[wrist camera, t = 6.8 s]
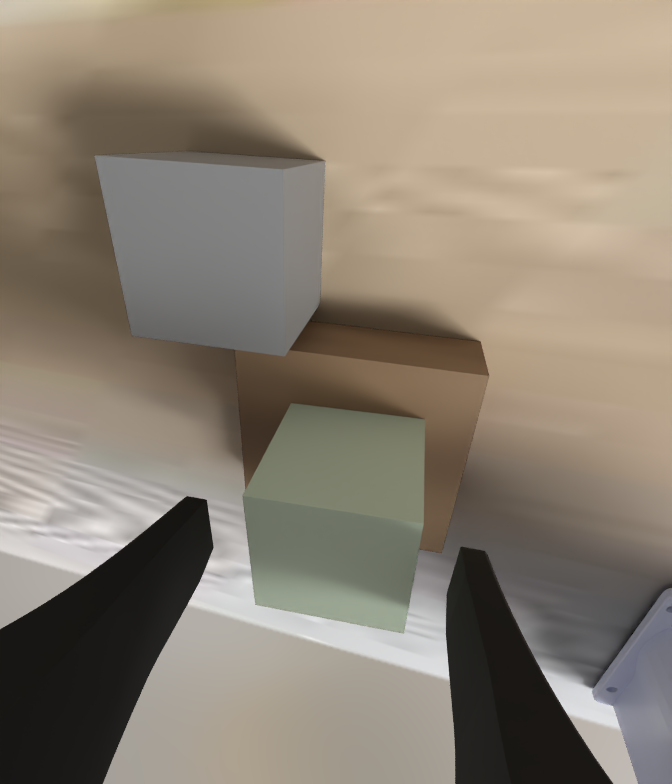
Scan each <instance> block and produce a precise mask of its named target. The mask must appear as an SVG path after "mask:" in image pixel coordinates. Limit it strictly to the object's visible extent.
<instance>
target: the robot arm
mask: <svg viewBox="0 0 672 784" xmlns="http://www.w3.org/2000/svg"><path fill="white" fill-rule="evenodd" d="M212 550H213V541H212V534H211V527H210V520H209V513H208V506H207V500H205V499H199V498H194V497H189V496H187V497H185V498H184V499H183V500H181V501H180V502H179V503H178V504H177V505H175V506H174V507H173V508H172V509H171V510H169V511H168V512H167V513H166V514H165V515H163V516H162V517H161V518H160V519H159V520H157V521H156V522H155V523H154V524H153V525H151V526H150V527H149V528H148V529H147V530H145V531H144V532H143V533H142V534H140V535H139V536H138V537H137V538H135V539H134V540H133V541H132V542H130V543H129V544H128V545H127V546H125V547H124V548H123V549H121V550H120V551H119V552H118V553H116V554H115V555H114V556H112V557H111V558H110V559H108V560H107V561H106V562H104V563H103V564H101V565H100V566H99V567H97V568H96V569H95V570H93V571H92V572H91V573H89V574H88V575H86V576H85V577H84V578H82V579H81V580H79V581H78V582H76V583H75V584H74V585H72V586H71V587H69V588H68V589H66V590H65V591H63V592H62V593H60V594H58V595H57V596H55V597H54V598H52V599H51V600H49V601H47V602H46V603H44V604H43V605H41V606H39V607H38V608H36V609H34V610H33V611H31V612H29V613H28V614H26V615H24V616H23V617H21V618H19V619H17V620H16V621H14V622H12V623H10V624H9V625H7V626H5V627H3V628H2V629H0V784H103V782H104V779H105V777H106V774H107V772H108V769H109V766H110V764H111V761H112V759H113V757H114V754H115V752H116V749H117V747H118V744H119V742H120V740H121V738H122V735H123V733H124V731H125V728H126V726H127V723H128V721H129V718H130V716H131V714H132V712H133V709H134V707H135V705H136V703H137V701H138V698H139V696H140V694H141V691H142V689H143V687H144V685H145V683H146V680H147V678H148V676H149V674H150V672H151V670H152V668H153V666H154V664H155V662H156V660H157V658H158V656H159V654H160V653H161V651H162V649H163V647H164V645H165V644H166V642H167V640H168V638H169V637H170V635H171V633H172V631H173V629H174V628H175V626H176V624H177V622H178V620H179V619H180V617H181V615H182V613H183V611H184V609H185V608H186V606H187V604H188V602H189V600H190V598H191V597H192V595H193V593H194V591H195V589H196V587H197V586H198V584H199V582H200V579H201V577H202V575H203V572H204V570H205V568H206V565H207V563H208V560H209V558H210V555H211V553H212ZM446 640H447V653H448V665H449V676H450V688H451V699H452V711H453V722H454V737H455V776H456V777H455V783H456V784H613V783H612V781H611V780H610V779H609V777H608V776H607V774H606V773H605V771H604V770H603V769H602V767H601V766H600V764H599V763H598V762H597V760H596V759H595V757H594V756H593V754H592V753H591V751H590V749H589V748H588V747H587V745H586V743H585V742H584V740H583V739H582V737H581V736H580V734H579V733H578V731H577V730H576V728H575V726H574V725H573V723H572V722H571V720H570V718H569V717H568V715H567V714H566V712H565V710H564V709H563V707H562V705H561V704H560V702H559V700H558V699H557V697H556V695H555V694H554V692H553V690H552V688H551V687H550V685H549V683H548V682H547V680H546V678H545V676H544V674H543V673H542V671H541V669H540V667H539V665H538V663H537V662H536V660H535V658H534V656H533V654H532V652H531V650H530V648H529V647H528V645H527V643H526V641H525V639H524V637H523V635H522V633H521V631H520V629H519V626H518V624H517V622H516V620H515V618H514V616H513V614H512V612H511V610H510V608H509V606H508V603H507V601H506V599H505V597H504V594H503V592H502V590H501V588H500V585H499V583H498V580H497V578H496V575H495V573H494V570H493V568H492V565H491V563H490V560H489V557H488V555H487V554H486V552H485V551H482V550H476V549H471V548H465V547H461V548H460V551H459V555H458V558H457V561H456V565H455V568H454V571H453V575H452V578H451V582H450V585H449V588H448V592H447V604H446ZM592 693H593V697H594V699H595V700H596V701H597V702H599V703H603V704H607V705H612V706H613V707H614V710H615V713H616V716H617V719H618V722H619V725H620V728H621V732H622V735H623V737H624V741H625V744H626V747H627V750H628V753H629V756H630V759H631V763H632V766H633V769H634V772H635V775H636V777H637V781H638V784H672V588H669V589H666V590H665V591H664V592H663V593H662V594H661V595H660V597H659V598H658V600H657V601H656V602H655V604H654V605H653V607H652V608H651V609H650V611H649V612H648V613H647V615H646V616H645V618H644V619H643V620H642V622H641V623H640V625H639V626H638V627H637V629H636V630H635V632H634V633H633V634H632V636H631V637H630V639H629V640H628V641H627V643H626V644H625V645H624V647H623V648H622V650H621V651H620V652H619V654H618V655H617V657H616V658H615V659H614V661H613V662H612V664H611V665H610V666H609V668H608V669H607V671H606V672H605V673H604V675H603V676H602V677H601V679H600V680H599V682H598V683H597V684H596V686H595V687H594V689H593V690H592Z"/></svg>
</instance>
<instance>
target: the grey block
mask: <svg viewBox="0 0 672 784" xmlns="http://www.w3.org/2000/svg"><path fill="white" fill-rule="evenodd" d="M94 156H95V160H96V165H97V170H98V175H99V180H100V185H101V189H102V194H103V199H104V204H105V209H106V214H107V218H108V223H109V228H110V233H111V238H112V243H113V247H114V252H115V257H116V262H117V267H118V272H119V277H120V281H121V286H122V291H123V296H124V301H125V306H126V310H127V315H128V320H129V325H130V330H131V335H132V336H136V337H144V338H151V339H159V340H166V341H174V342H181V343H188V344H196V345H203V346H211V347H218V348H226V349H233V350H241V351H248V352H256V353H263V354H270V355H278V356H285V355H286V354H287V352H288V351H289V349H290V348H291V346H292V345H293V343H294V342H295V340H296V339H297V337H298V336H299V334H300V333H301V331H302V330H303V328H304V327H305V325H306V324H307V322H308V321H309V319H310V318H311V316H312V315H313V313H314V312H315V310H316V309H317V307H318V306H319V304H320V294H321V266H322V238H323V210H324V182H325V161H320V160H306V159H292V158H278V157H264V156H250V155H236V154H222V153H208V152H194V151H175V152H154V153H133V154H112V155H94Z"/></svg>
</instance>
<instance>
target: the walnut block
mask: <svg viewBox="0 0 672 784" xmlns="http://www.w3.org/2000/svg"><path fill="white" fill-rule="evenodd" d="M235 361H236V374H237V387H238V400H239V412H240V425H241V438H242V451H243V464H244V476H245V489H246V488H247V486H248V484H249V483H250V481H251V479H252V477H253V475H254V473H255V471H256V469H257V467H258V465H259V463H260V462H261V460H262V458H263V456H264V454H265V452H266V450H267V448H268V446H269V444H270V442H271V441H272V439H273V437H274V435H275V433H276V431H277V429H278V427H279V425H280V423H281V421H282V420H283V418H284V416H285V414H286V412H287V410H288V408H289V406H290V404H291V403H294V404H303V405H311V406H319V407H327V408H336V409H344V410H352V411H360V412H369V413H377V414H385V415H394V416H402V417H410V418H418V419H425V459H424V525H423V530H422V536H421V542H420V547H419V549H421V550H427V551H432V552H437V553H442V549H443V546H444V542H445V538H446V534H447V531H448V527H449V523H450V520H451V516H452V512H453V508H454V505H455V501H456V497H457V494H458V490H459V486H460V483H461V479H462V475H463V471H464V468H465V464H466V460H467V457H468V453H469V449H470V445H471V442H472V438H473V434H474V431H475V427H476V423H477V420H478V416H479V412H480V408H481V405H482V401H483V397H484V394H485V390H486V386H487V382H488V379H489V373H488V369H487V365H486V361H485V357H484V353H483V349H482V345H481V342H479V341H471V340H462V339H454V338H446V337H437V336H429V335H421V334H413V333H404V332H396V331H388V330H379V329H371V328H363V327H355V326H346V325H338V324H330V323H321V322H313V321H308V322H307V324H306V325H305V327H304V328H303V330H302V331H301V333H300V334H299V336H298V337H297V339H296V340H295V342H294V343H293V345H292V346H291V348H290V349H289V351H288V352H287V354H286V355H285V356H278V355H270V354H263V353H256V352H248V351H241V350H235Z"/></svg>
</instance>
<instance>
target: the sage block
mask: <svg viewBox="0 0 672 784" xmlns="http://www.w3.org/2000/svg"><path fill="white" fill-rule="evenodd" d="M424 459H425V419H418V418H410V417H402V416H394V415H385V414H377V413H369V412H360V411H352V410H344V409H336V408H327V407H319V406H311V405H303V404H294V403H291V404H290V406H289V408H288V410H287V412H286V414H285V416H284V418H283V420H282V421H281V423H280V425H279V427H278V429H277V431H276V433H275V435H274V437H273V439H272V441H271V442H270V444H269V446H268V448H267V450H266V452H265V454H264V456H263V458H262V460H261V462H260V463H259V465H258V467H257V469H256V471H255V473H254V475H253V477H252V479H251V481H250V483H249V484H248V486H247V488H246V490H245V492H244V494H243V503H244V512H245V521H246V529H247V538H248V546H249V555H250V563H251V572H252V581H253V589H254V598H255V605H259V606H264V607H270V608H275V609H280V610H285V611H290V612H295V613H300V614H306V615H311V616H316V617H321V618H326V619H331V620H337V621H342V622H347V623H352V624H357V625H362V626H368V627H373V628H378V629H383V630H388V631H393V632H399V633H404V630H405V624H406V619H407V613H408V608H409V602H410V597H411V591H412V586H413V580H414V575H415V569H416V564H417V558H418V553H419V547H420V542H421V536H422V530H423V525H424Z"/></svg>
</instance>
